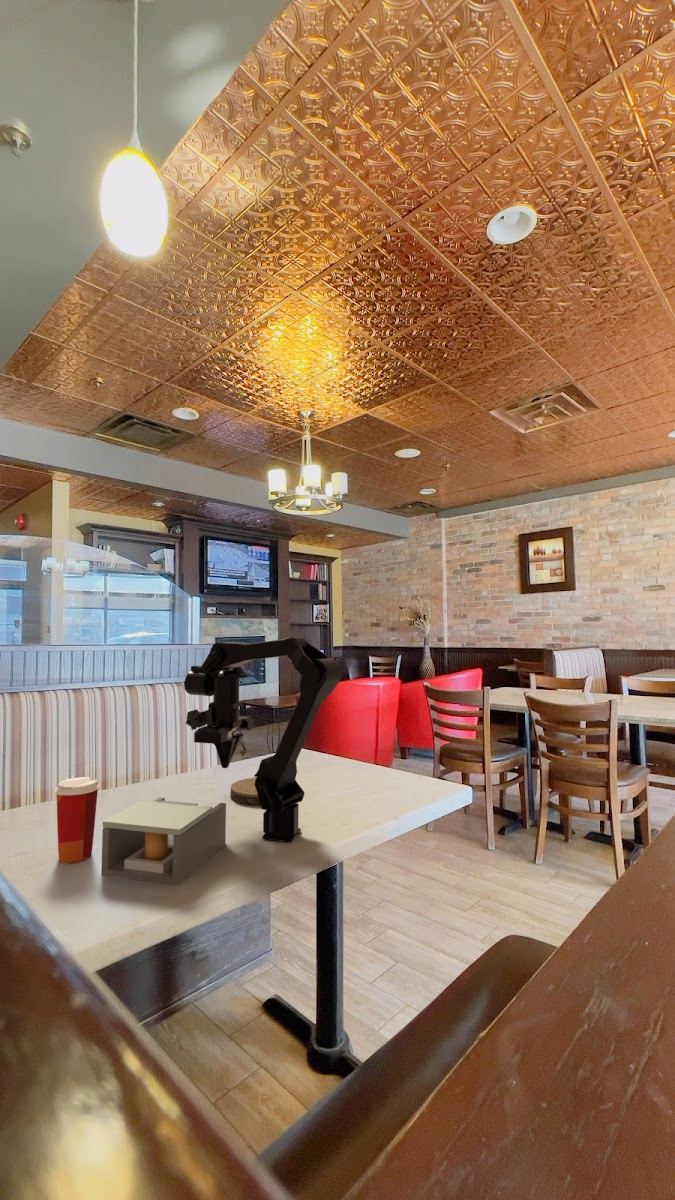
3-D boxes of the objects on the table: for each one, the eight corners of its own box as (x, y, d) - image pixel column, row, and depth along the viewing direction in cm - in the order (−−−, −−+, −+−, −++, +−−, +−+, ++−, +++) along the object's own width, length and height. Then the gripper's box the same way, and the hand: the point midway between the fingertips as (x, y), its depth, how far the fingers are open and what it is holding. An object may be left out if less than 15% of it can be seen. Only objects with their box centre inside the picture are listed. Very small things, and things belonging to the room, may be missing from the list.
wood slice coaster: (218, 796, 140) (218, 784, 140) (269, 784, 150) (269, 773, 151) (252, 811, 128) (252, 799, 128) (304, 798, 139) (305, 786, 139)
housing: (225, 843, 108) (226, 803, 109) (178, 885, 91) (179, 836, 91) (158, 836, 112) (159, 797, 112) (101, 875, 94) (102, 828, 95)
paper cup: (85, 845, 107) (88, 774, 107) (105, 856, 102) (107, 781, 103) (44, 858, 101) (46, 782, 101) (62, 870, 96) (65, 790, 97)
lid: (214, 821, 103) (214, 805, 104) (179, 847, 91) (179, 829, 91) (145, 814, 107) (145, 799, 107) (102, 838, 94) (102, 821, 95)
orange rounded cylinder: (172, 858, 99) (172, 825, 99) (158, 867, 95) (159, 832, 95) (153, 856, 100) (154, 822, 100) (139, 864, 96) (140, 830, 96)
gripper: (212, 691, 132) (211, 756, 132) (172, 701, 114) (170, 776, 114) (254, 693, 130) (253, 758, 129) (220, 703, 112) (218, 780, 111)
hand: (225, 767), depth 121 cm, fingers closed
